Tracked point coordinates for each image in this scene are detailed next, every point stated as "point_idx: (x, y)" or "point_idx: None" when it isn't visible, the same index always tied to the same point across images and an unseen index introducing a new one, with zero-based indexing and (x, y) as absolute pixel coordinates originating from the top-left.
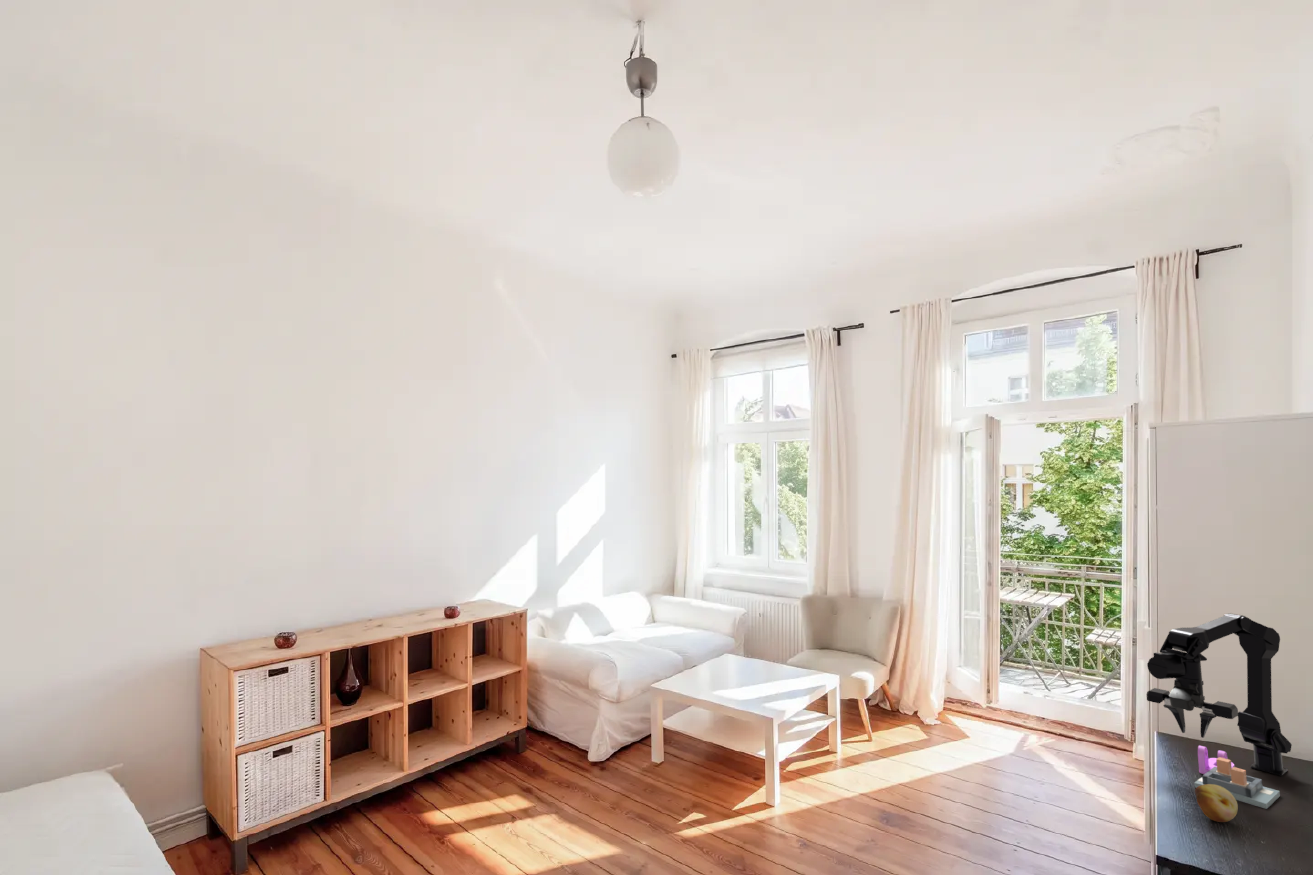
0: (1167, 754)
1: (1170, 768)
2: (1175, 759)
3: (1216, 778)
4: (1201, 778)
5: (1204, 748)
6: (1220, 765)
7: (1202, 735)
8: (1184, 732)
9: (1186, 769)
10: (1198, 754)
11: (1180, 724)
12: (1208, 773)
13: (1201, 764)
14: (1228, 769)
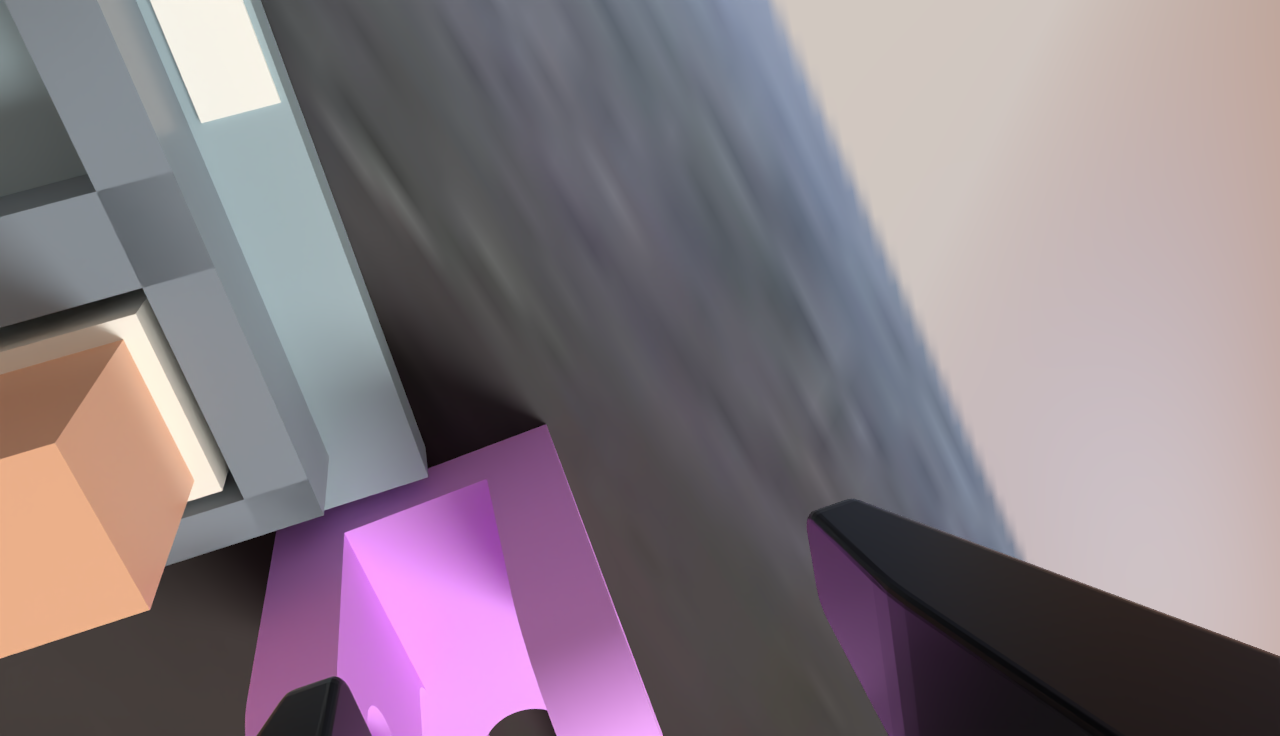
0: None
1: (772, 189)
2: None
3: (62, 187)
4: (249, 62)
5: (555, 719)
6: (27, 410)
7: (282, 729)
8: (813, 560)
9: (667, 363)
10: (586, 562)
11: (1021, 620)
12: (96, 91)
13: (533, 493)
14: None
